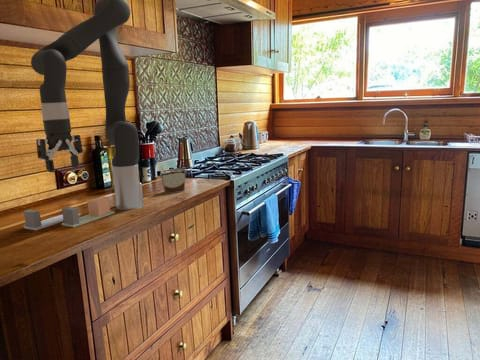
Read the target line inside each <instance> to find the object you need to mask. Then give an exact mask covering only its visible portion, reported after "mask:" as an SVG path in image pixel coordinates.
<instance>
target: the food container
mask: <svg viewBox="0 0 480 360" xmlns="http://www.w3.org/2000/svg"><path fill="white" fill-rule="evenodd" d="M186 174H187V170H186V168H169V169H167V168H166V169H163V170H161V171H160V174H159V177H160V178H161V182H162V187H163V192H164V195H167V194H168V195H169V194H173V193H181V192H185V190H186V189H185V188H186Z"/></svg>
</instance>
